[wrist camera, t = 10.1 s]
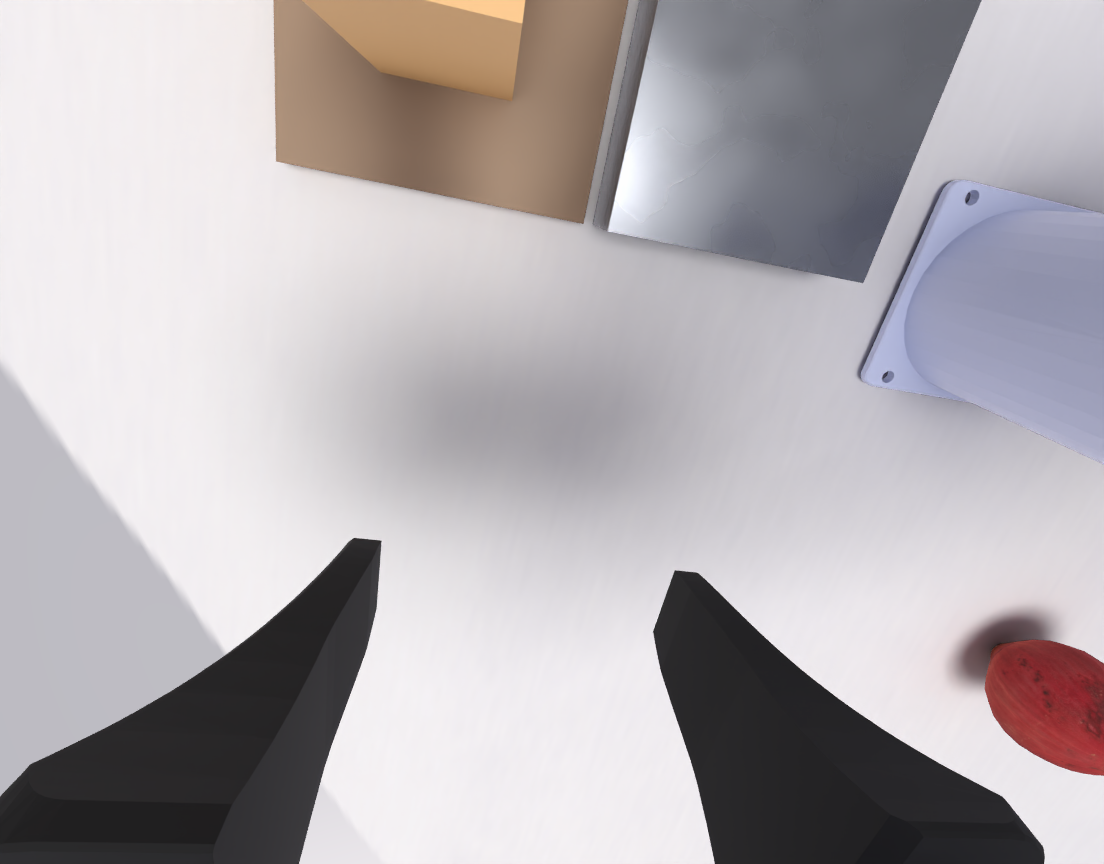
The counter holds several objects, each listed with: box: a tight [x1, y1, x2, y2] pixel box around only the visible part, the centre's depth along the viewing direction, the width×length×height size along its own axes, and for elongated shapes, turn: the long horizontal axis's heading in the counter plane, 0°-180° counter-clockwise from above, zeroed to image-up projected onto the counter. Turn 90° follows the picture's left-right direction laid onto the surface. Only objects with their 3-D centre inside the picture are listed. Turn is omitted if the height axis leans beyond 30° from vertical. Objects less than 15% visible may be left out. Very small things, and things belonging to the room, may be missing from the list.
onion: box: [985, 640, 1104, 776], centre depth 27 cm, size 6×6×8 cm
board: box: [274, 0, 628, 224], centre depth 16 cm, size 10×10×1 cm
